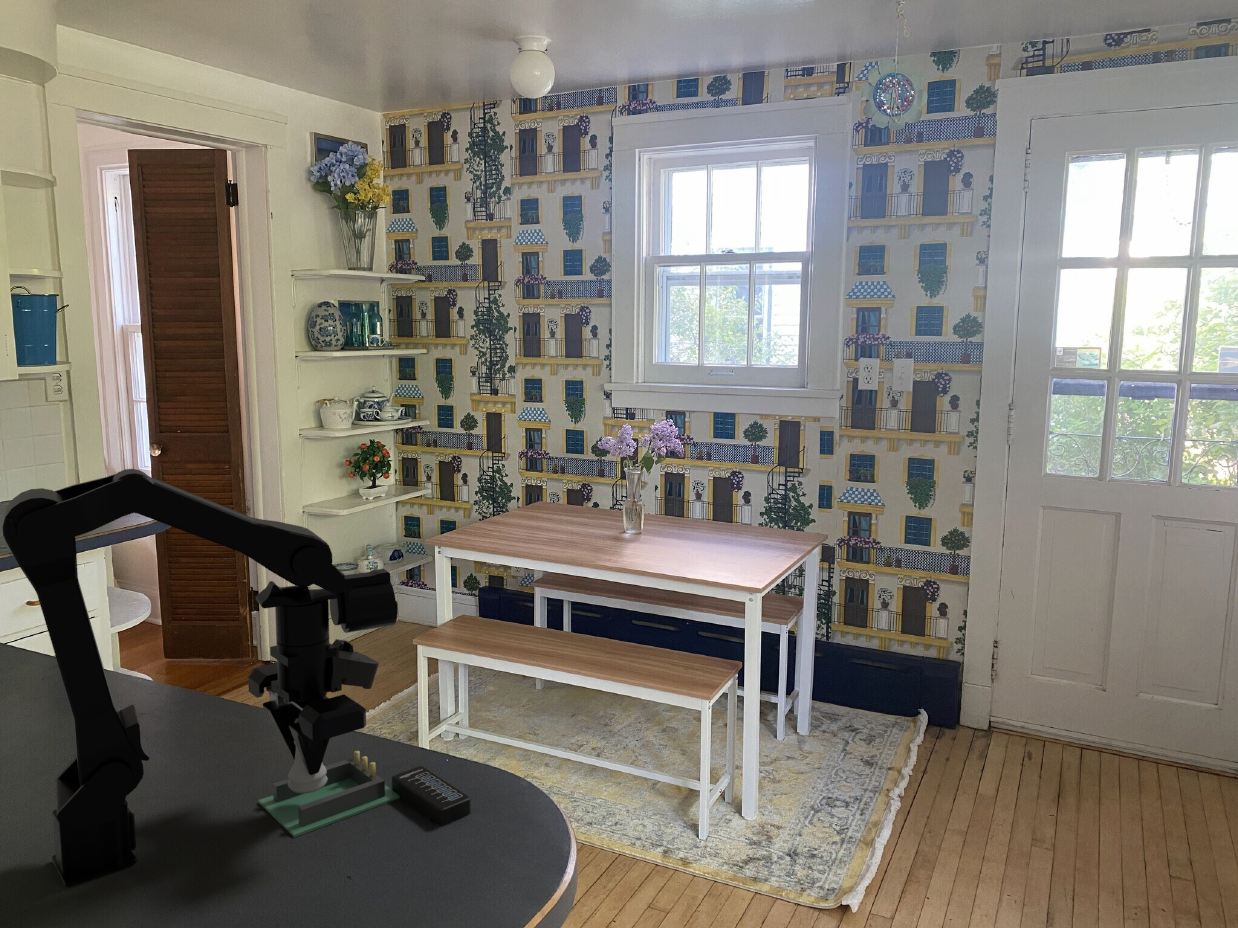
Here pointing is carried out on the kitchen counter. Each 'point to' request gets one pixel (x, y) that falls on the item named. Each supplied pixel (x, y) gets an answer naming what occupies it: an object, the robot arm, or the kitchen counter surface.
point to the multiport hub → (431, 795)
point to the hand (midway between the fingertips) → (306, 767)
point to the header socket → (329, 797)
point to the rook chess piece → (305, 775)
